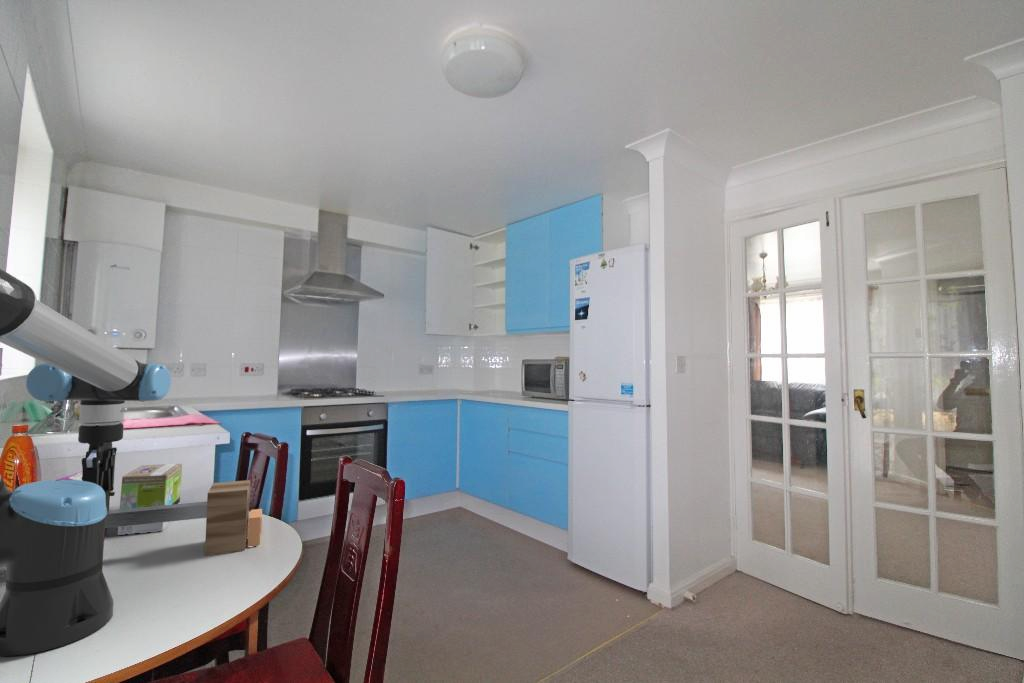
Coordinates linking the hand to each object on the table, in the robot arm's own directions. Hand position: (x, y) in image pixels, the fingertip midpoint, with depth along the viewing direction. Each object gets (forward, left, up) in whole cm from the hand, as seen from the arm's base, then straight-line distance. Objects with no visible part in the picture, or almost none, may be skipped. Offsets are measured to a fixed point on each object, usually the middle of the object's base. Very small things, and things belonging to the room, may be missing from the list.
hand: (96, 530), depth 106 cm
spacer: (0, -31, -7) cm, 32 cm away
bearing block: (0, -25, -7) cm, 26 cm away
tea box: (+24, -5, -7) cm, 25 cm away
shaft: (0, -10, 0) cm, 11 cm away
